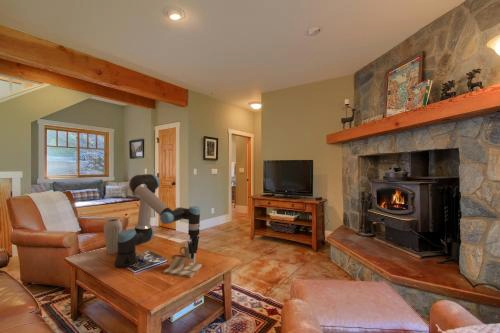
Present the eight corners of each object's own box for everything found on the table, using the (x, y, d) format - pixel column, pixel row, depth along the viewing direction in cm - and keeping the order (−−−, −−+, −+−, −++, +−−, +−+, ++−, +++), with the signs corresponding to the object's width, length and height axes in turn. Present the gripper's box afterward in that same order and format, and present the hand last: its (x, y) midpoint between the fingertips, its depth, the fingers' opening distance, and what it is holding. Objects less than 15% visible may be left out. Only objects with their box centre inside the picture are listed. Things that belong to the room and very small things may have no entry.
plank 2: (182, 271, 160) (182, 269, 160) (189, 264, 169) (189, 262, 169) (195, 273, 158) (195, 270, 157) (201, 266, 166) (201, 264, 166)
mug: (191, 260, 178) (192, 247, 178) (176, 259, 181) (176, 246, 180) (196, 256, 186) (196, 244, 186) (181, 255, 189) (182, 242, 189)
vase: (125, 251, 193) (125, 219, 193) (108, 257, 182) (108, 223, 182) (116, 248, 200) (116, 217, 200) (99, 253, 189) (100, 220, 189)
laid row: (161, 274, 156) (161, 271, 156) (175, 263, 172) (175, 261, 172) (191, 279, 150) (191, 276, 150) (203, 267, 167) (203, 265, 167)
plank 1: (169, 269, 163) (168, 267, 162) (175, 257, 170) (174, 256, 169) (181, 270, 160) (180, 269, 159) (187, 259, 167) (186, 257, 166)
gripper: (194, 232, 157) (193, 267, 157) (203, 227, 169) (202, 259, 170) (184, 230, 159) (183, 265, 159) (193, 225, 171) (192, 258, 172)
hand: (192, 262), depth 164 cm, fingers closed
